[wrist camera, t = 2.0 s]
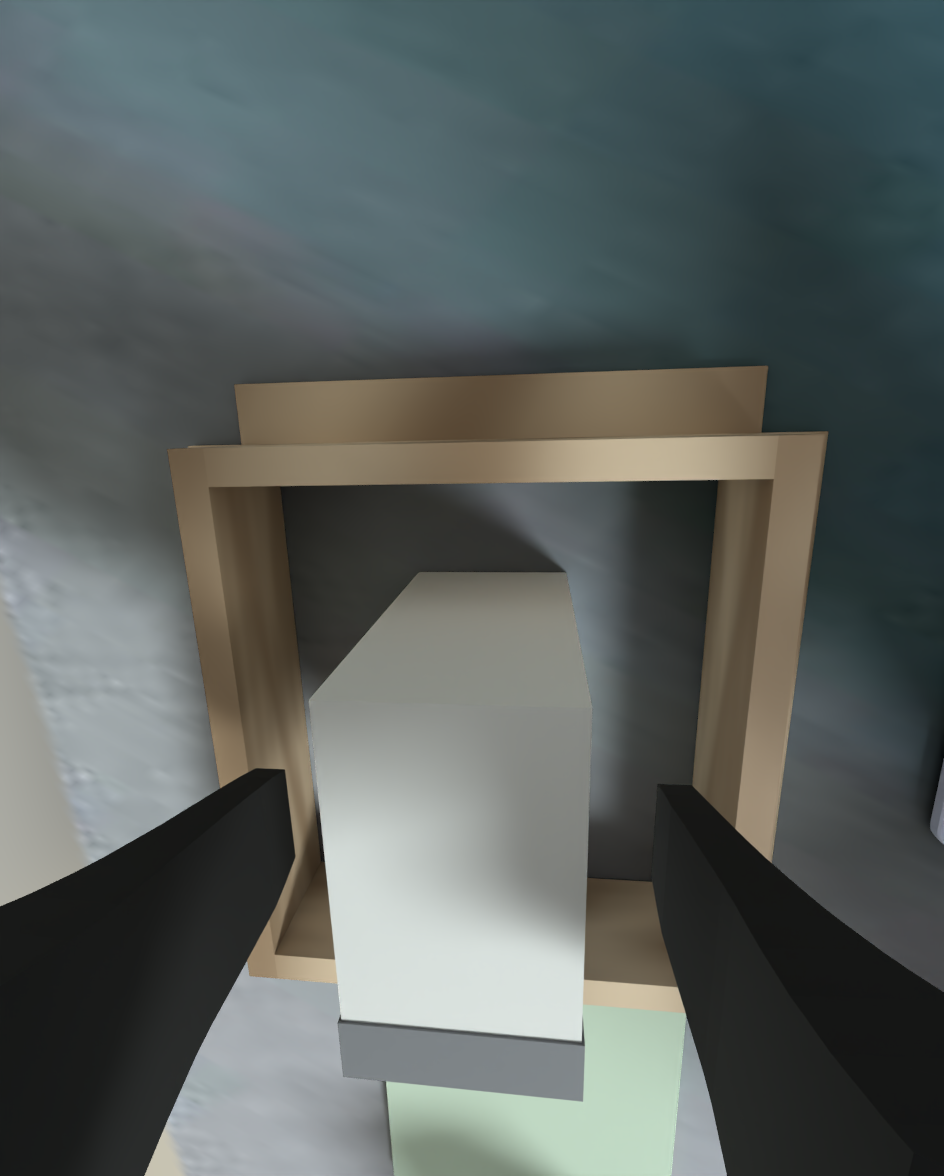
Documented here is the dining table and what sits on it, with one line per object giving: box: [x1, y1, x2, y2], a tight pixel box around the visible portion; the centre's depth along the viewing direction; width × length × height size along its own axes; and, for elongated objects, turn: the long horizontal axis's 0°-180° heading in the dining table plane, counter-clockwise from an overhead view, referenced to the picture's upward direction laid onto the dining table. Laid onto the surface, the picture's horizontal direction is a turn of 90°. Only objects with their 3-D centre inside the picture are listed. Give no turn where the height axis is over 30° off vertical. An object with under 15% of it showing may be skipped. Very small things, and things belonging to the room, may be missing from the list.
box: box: [309, 572, 592, 1102], centre depth 13 cm, size 4×7×8 cm, turn 1°
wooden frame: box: [167, 366, 828, 1013], centre depth 15 cm, size 16×17×4 cm
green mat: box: [386, 1004, 686, 1176], centre depth 20 cm, size 10×10×1 cm
